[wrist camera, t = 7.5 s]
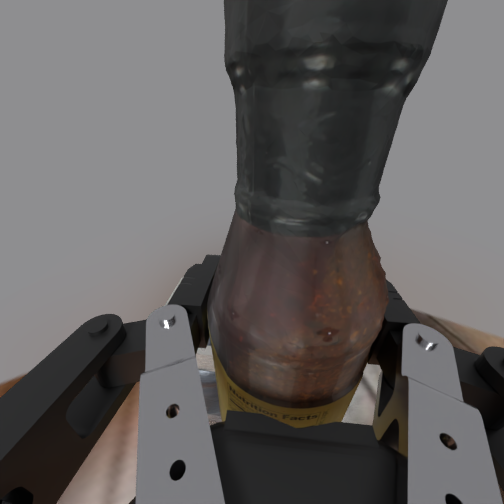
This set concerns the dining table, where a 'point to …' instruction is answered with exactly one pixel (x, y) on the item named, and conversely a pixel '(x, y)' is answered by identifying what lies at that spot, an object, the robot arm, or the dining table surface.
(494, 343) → the dining table surface
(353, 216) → the sauce bottle
